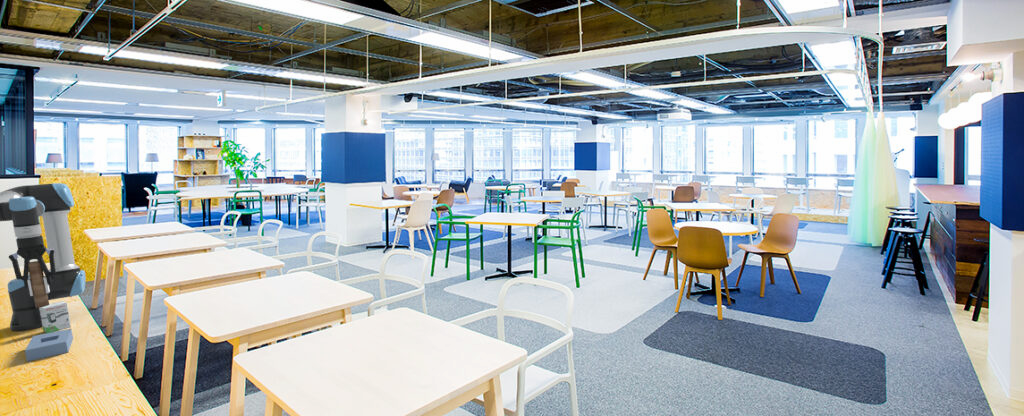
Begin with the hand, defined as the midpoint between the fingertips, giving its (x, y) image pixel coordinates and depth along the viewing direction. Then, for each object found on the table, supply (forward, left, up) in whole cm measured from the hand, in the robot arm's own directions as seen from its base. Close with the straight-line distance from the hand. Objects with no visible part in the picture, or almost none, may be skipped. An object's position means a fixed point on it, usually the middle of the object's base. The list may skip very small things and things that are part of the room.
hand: (40, 293), depth 199 cm
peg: (0, 0, -5) cm, 5 cm away
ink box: (-29, -1, -24) cm, 38 cm away
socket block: (0, 0, -24) cm, 24 cm away
